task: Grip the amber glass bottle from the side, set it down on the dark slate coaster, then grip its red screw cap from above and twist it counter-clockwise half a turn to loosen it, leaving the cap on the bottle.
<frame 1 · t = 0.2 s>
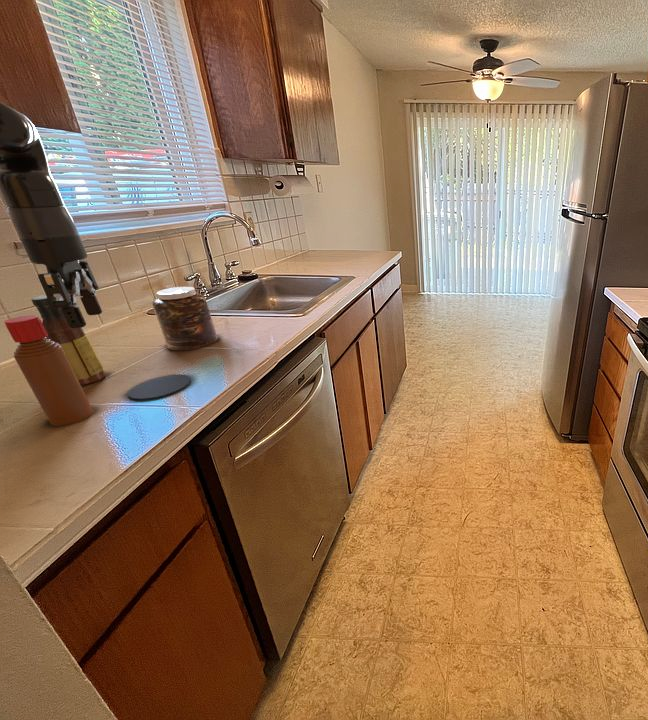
hand: (87, 320, 77), 17 cm above the counter, tool pointing down, fingers open, 8 cm apart
jar: (193, 343, 111), on the counter
sauce bottle: (88, 381, 91), on the counter
coaster: (161, 388, 87), on the counter
bottle: (72, 417, 77), on the counter
cap: (22, 321, 68), point 20 cm above the counter, screwed on, not yet turned
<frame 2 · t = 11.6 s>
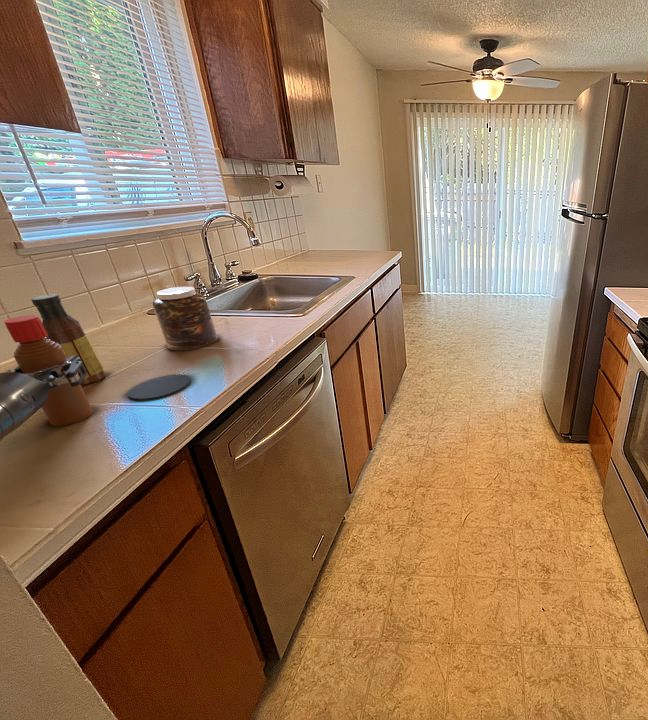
hand: (54, 363, 74), 11 cm above the counter, tool horizontal, fingers closed on bottle, 6 cm apart
bottle: (72, 417, 77), on the counter, touching gripper
everything else where it was.
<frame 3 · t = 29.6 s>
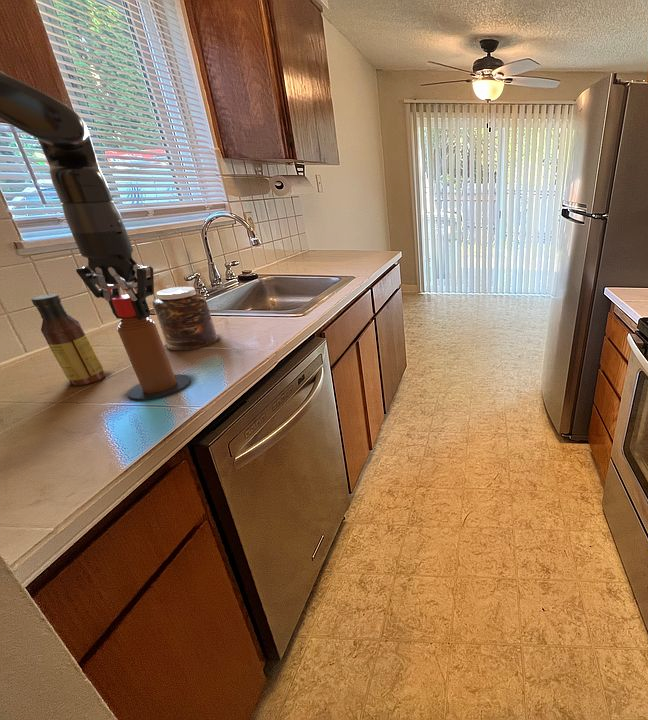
hand: (133, 317, 80), 16 cm above the counter, tool pointing down, fingers closed on cap, 4 cm apart
bottle: (160, 386, 86), point 1 cm above the counter, touching coaster
cap: (125, 298, 78), point 20 cm above the counter, screwed on, not yet turned, touching gripper
everything else where it was.
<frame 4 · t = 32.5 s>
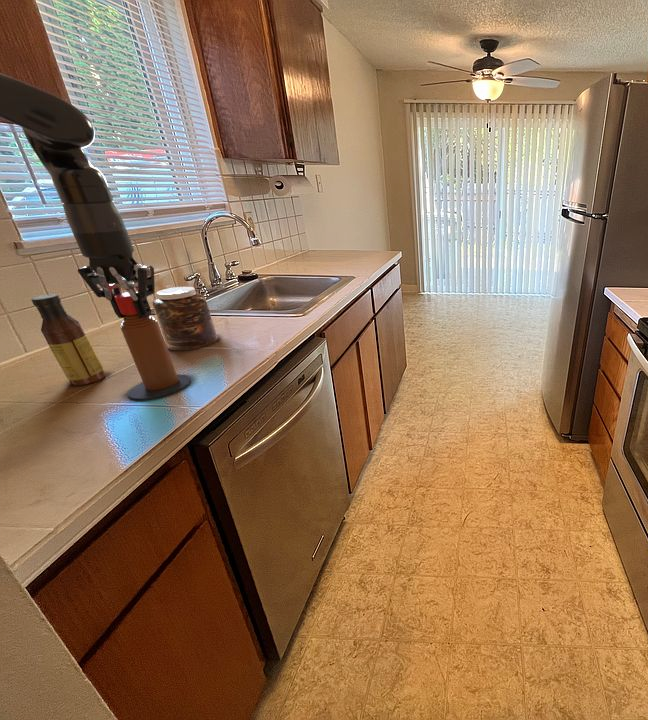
hand: (135, 316, 81), 16 cm above the counter, tool pointing down, fingers closed on cap, 4 cm apart
bottle: (162, 383, 88), point 1 cm above the counter, touching coaster, gripper
cap: (128, 296, 79), point 20 cm above the counter, turned 159° so far, risen 0.2 cm, still on its thread, touching gripper
everything else where it was.
when the fingers open (16 cm above the counter, at t = 33.3 s): cap stays where it is, point 20 cm above the counter.
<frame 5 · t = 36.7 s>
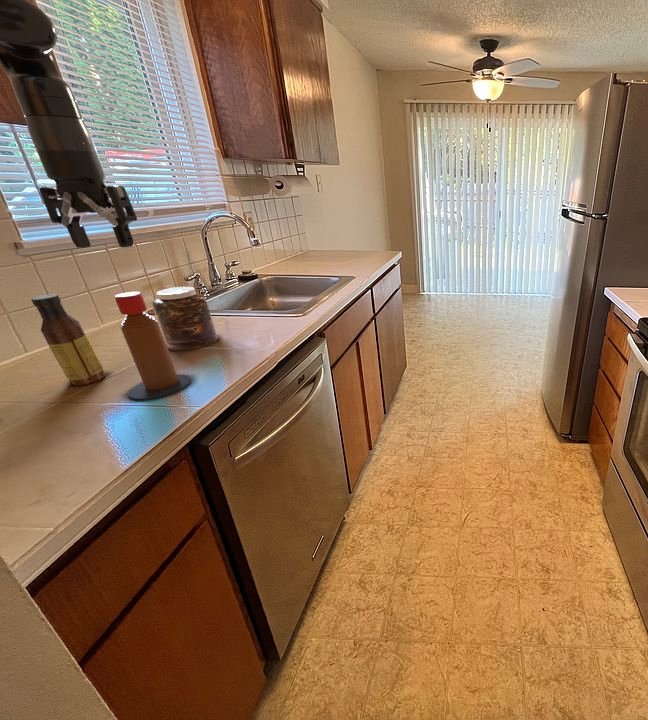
hand: (105, 247, 74), 30 cm above the counter, tool pointing down, fingers open, 8 cm apart
bottle: (162, 383, 88), point 1 cm above the counter, touching coaster
cap: (128, 296, 79), point 20 cm above the counter, turned 160° so far, risen 0.2 cm, still on its thread
everything else where it was.
at the end: bottle 1.0 cm off-centre on the coaster, point 0.6 cm above the coaster's base; cap turned 0.44 turns (still on its thread); cap is still on its thread (0.44 turns) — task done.
